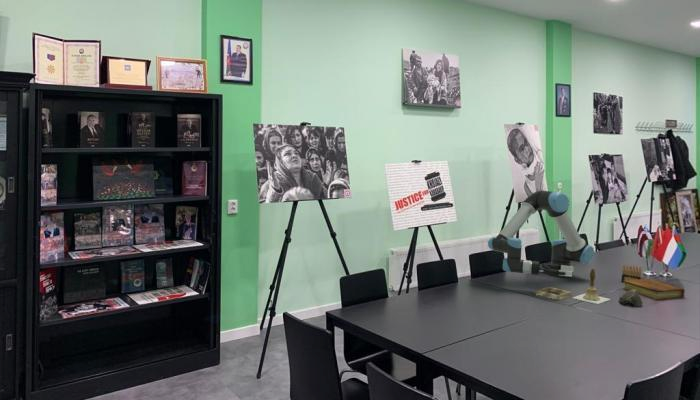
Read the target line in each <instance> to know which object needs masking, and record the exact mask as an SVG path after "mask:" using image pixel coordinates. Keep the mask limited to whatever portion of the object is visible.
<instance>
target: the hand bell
mask: <svg viewBox="0 0 700 400" xmlns="http://www.w3.org/2000/svg"><path fill="white" fill-rule="evenodd" d="M589 279H590V283H589V284H590V285H589V287H588V288H586V294H585V293H584V294H585V295H584V296H583V298H584V299H587V300H600V298H599V297H600V296H599V295H598V292H597V288H596V287H595V286H594V285H595V284H594V283H595V279H596V271H595V269H594V268H592V269H591V270H590V273H589ZM598 296H599V297H598Z"/></svg>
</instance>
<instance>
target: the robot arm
mask: <svg viewBox="0 0 700 400" xmlns="http://www.w3.org/2000/svg"><path fill="white" fill-rule="evenodd" d="M520 204H521V205H520V206H521V207H520V208H519V209H518V210H517V211H516V212H515V214H513V216H512V217H511V219H510V220H509V221H508V222H507V223H506V224H505V226H504V227H503V228H502V229H501V230H500V232H499V233H498V235H497V236H496V237H493V236H492V237H490V238H489V239H488V242H487V246H488V249H489V250H493V251H495V252H499V253H505V254H506V257H505V258H503V260H502V270H503V271H504V272H509V273H517V274H518V273H519V274H525V275H527V276H528V274H529V275H530V274H531V275H536V276H537V275H539V274H545V275H549V276H553V277H556V278H572V277H574V271H575V270H574V269H575V268H574V266H572V262H573V263H579V264H584V265H587V264H590V263H591V261H592V260H593V258H594V255H595V249H594V247H593V246H592V245H590V244H589V245H588V244H587V242H586V240H585V239H584V238H582V237H581V235H580V234H579V232H578V230H577V228H576V227H575V226H576V225H575V224H574V222H573V221H572V219H571V216H570V214H569V212H568V210H569V207H570V199H569V197H568V196H567V194H566V193H564V192H561V191H554V190H551V191H550V190H536V191H534V192H533V193H531V194H530V195H528V196H527V197H526V198H525V199H524V200H523V201H522V203H520ZM537 211H546V212H547V214H548V216H549V217H550V218H553V220H554V222H555V224H556V226H557V228H558V229H559V232H560V233H561V236H562V237H563V238H560V239H559V238H558V239H553V240H552V243H551V259H550V260H551V261H550V262H551V263H549V264H547V263H541V265H540V261H536V260H528V259H522V247H523V246H522V239H521V238H520V237H519V238H517V237H515V235H516V234H517V233H518V232H519V231H520V229H521V228H522V227H523V226H524V224H525V223H526V221H528V220H529V218H530V217H531V216H532V215H534V214H536V213H537Z"/></svg>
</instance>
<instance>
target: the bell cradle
mask: <svg viewBox="0 0 700 400" xmlns="http://www.w3.org/2000/svg"><path fill="white" fill-rule="evenodd" d="M547 292H548V293H547ZM552 292H553V293H552ZM556 293H558V294H556ZM572 293H573V292H572V291H568V290H565V289H561V288H556V287H552V286H548V287H544V288H540V289H537V290H536V291H535V295H536V296H538V295H540V296H539V297H542V296H544V297H543V298H546V297H548V298H547V299H550V298H552V299H551V300H554V299H555V301H558V300H559V301H561V299H562V300H565V299H567V298H572V295H573V294H572ZM564 298H565V299H564Z"/></svg>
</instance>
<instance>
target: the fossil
mask: <svg viewBox="0 0 700 400" xmlns="http://www.w3.org/2000/svg"><path fill="white" fill-rule="evenodd" d="M618 302H619V304H621V305H626V304H627V303H630V304H632V305H633V306H635V307H637V308H639V307H643V300H642V297H641V295H639V294H638V292H637V290H635V289H632V290H631V291H627V290H626V292H625V293H624V294H622V296H620V297H619V299H618Z"/></svg>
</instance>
